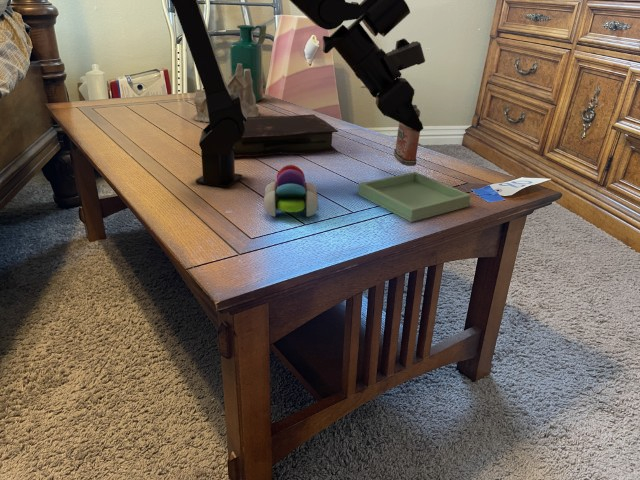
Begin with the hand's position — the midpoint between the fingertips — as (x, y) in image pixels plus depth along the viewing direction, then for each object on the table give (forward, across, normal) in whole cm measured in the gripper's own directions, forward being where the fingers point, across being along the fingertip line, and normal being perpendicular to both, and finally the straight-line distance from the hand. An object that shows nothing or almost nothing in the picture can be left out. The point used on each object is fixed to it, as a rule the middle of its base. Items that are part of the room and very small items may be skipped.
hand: (417, 124), depth 93 cm
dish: (+7, -10, +8) cm, 15 cm away
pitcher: (-19, +71, +36) cm, 82 cm away
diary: (-11, +21, +28) cm, 37 cm away
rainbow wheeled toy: (-7, -16, +24) cm, 29 cm away
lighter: (+4, 0, +6) cm, 7 cm away
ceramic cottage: (-21, +47, +38) cm, 64 cm away
